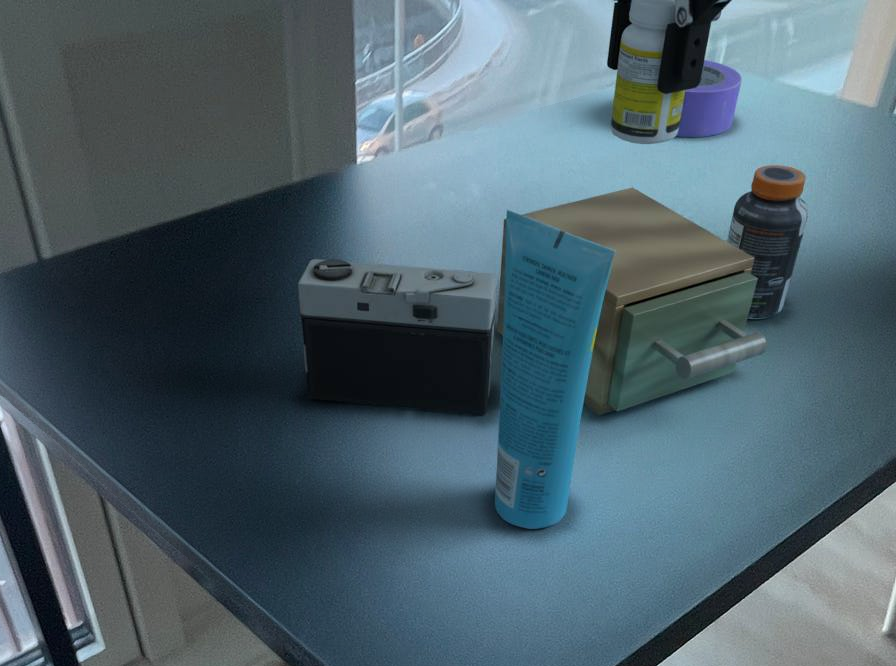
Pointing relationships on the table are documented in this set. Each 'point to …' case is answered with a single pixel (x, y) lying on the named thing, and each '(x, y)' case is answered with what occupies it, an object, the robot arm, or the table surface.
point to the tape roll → (710, 102)
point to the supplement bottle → (645, 78)
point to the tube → (544, 365)
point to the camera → (398, 335)
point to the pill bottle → (770, 233)
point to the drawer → (683, 339)
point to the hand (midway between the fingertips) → (652, 74)
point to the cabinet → (634, 264)
